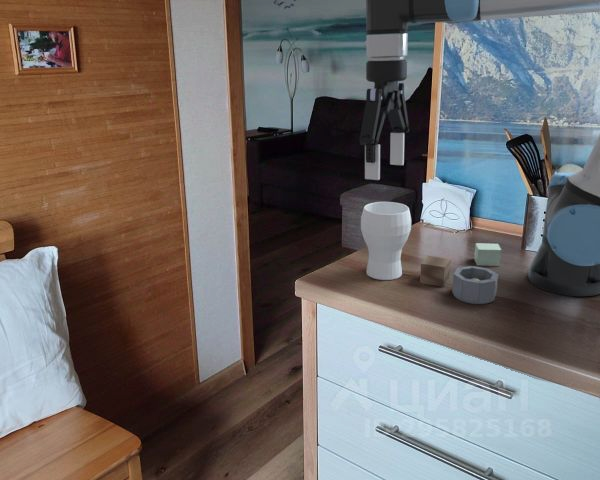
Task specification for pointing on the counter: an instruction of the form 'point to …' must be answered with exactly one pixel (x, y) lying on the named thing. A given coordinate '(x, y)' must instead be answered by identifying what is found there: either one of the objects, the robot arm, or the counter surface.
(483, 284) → the ramekin
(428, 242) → the counter surface
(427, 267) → the walnut box
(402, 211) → the cup
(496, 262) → the sage block
